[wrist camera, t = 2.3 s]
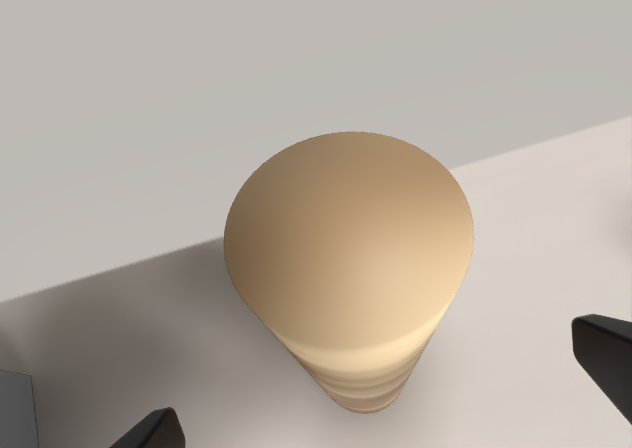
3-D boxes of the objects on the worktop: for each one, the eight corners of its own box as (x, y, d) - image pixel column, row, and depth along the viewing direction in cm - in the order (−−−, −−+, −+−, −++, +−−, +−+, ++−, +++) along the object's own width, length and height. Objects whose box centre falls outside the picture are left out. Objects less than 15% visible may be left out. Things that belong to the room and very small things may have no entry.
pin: (423, 379, 16) (535, 245, 5) (351, 433, 15) (298, 410, 4) (371, 308, 18) (370, 102, 7) (305, 352, 17) (190, 199, 6)
